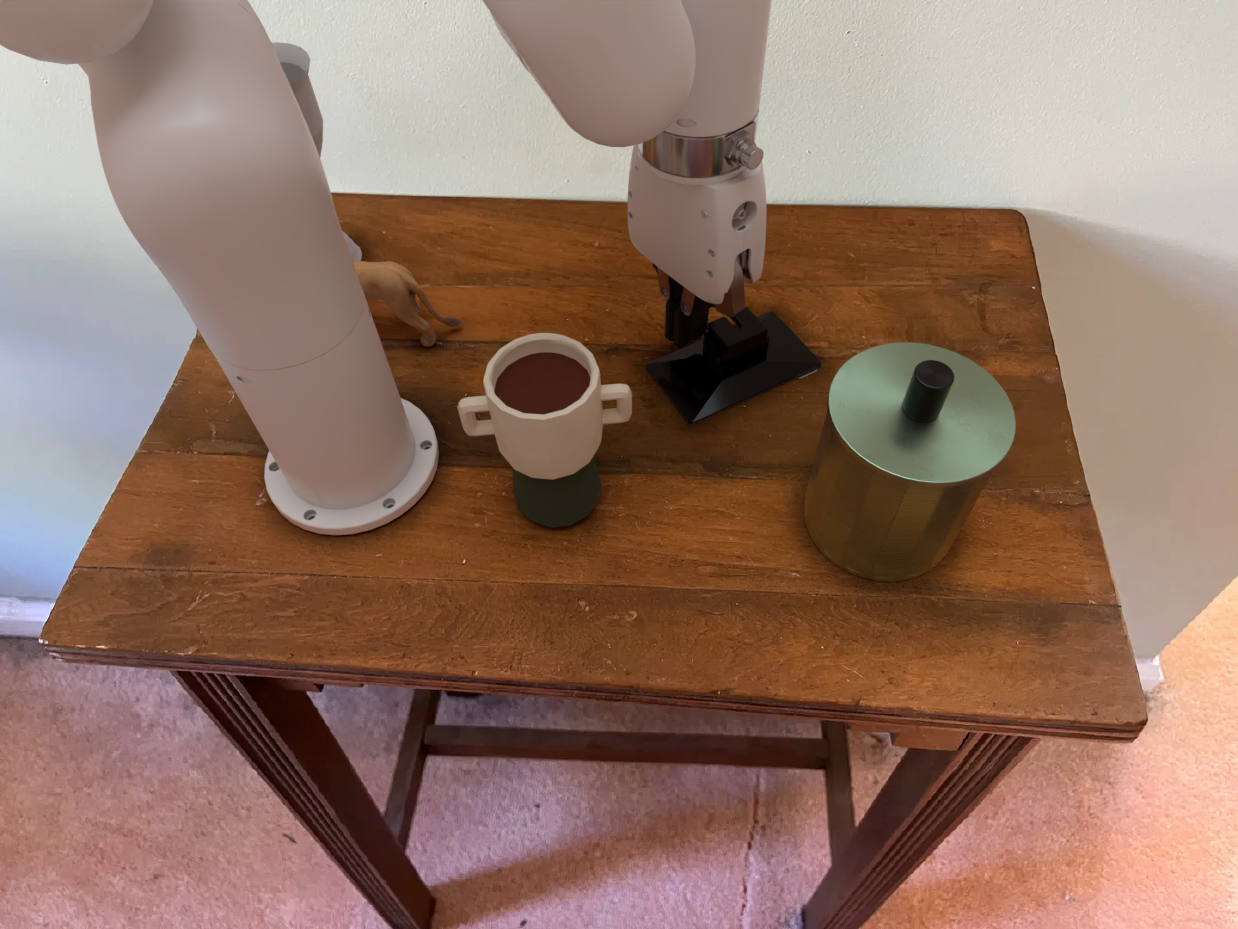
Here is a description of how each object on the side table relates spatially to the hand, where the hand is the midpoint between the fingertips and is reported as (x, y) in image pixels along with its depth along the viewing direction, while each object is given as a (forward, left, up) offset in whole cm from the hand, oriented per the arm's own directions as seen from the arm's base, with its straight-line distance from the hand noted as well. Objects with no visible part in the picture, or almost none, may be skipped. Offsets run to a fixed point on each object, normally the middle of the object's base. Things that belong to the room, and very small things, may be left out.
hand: (686, 335), depth 70 cm
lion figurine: (-19, -19, -2) cm, 27 cm away
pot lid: (+21, -1, +10) cm, 23 cm away
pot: (+21, -1, -2) cm, 21 cm away
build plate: (+4, +2, -2) cm, 5 cm away
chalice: (-29, -17, -2) cm, 34 cm away
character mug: (+5, -17, -2) cm, 17 cm away
